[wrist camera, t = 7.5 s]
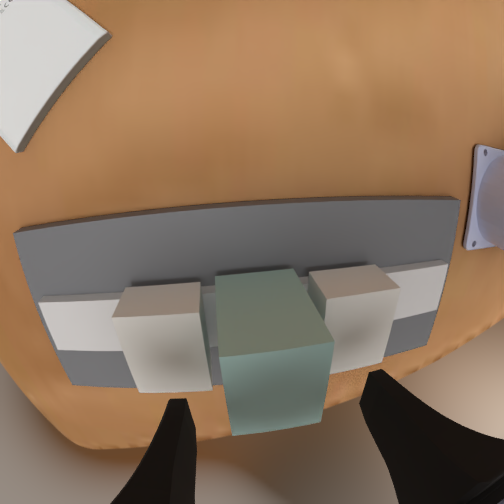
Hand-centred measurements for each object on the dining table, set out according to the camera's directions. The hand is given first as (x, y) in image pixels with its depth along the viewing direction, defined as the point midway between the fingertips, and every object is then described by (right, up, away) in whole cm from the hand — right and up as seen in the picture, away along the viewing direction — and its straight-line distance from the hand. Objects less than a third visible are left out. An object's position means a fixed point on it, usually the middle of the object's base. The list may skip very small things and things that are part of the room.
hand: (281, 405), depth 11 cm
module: (-1, +3, +6) cm, 6 cm away
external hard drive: (-16, +19, 0) cm, 24 cm away
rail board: (-1, +3, +7) cm, 8 cm away
